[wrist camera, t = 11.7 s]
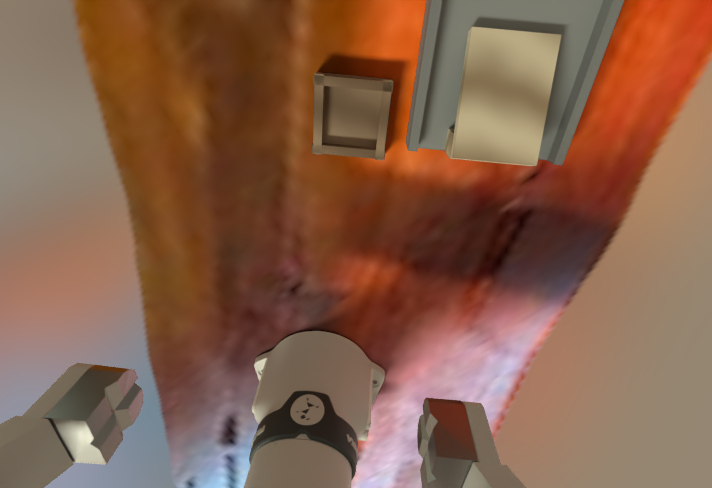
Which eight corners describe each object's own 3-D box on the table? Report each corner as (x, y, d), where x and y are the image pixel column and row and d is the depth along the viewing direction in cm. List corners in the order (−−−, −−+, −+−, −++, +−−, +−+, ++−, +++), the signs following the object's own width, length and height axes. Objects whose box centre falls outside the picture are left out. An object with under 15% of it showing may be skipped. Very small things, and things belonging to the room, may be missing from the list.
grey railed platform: (546, 155, 35) (562, 165, 32) (405, 142, 35) (408, 150, 32) (607, -20, 28) (635, -28, 25) (432, -36, 28) (438, -46, 25)
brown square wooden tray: (383, 155, 36) (384, 160, 34) (315, 148, 36) (312, 153, 34) (392, 79, 32) (393, 80, 30) (317, 72, 32) (313, 73, 30)
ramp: (518, 157, 33) (535, 170, 29) (444, 150, 33) (452, 162, 30) (556, 35, 28) (581, 33, 25) (469, 27, 28) (482, 24, 25)
